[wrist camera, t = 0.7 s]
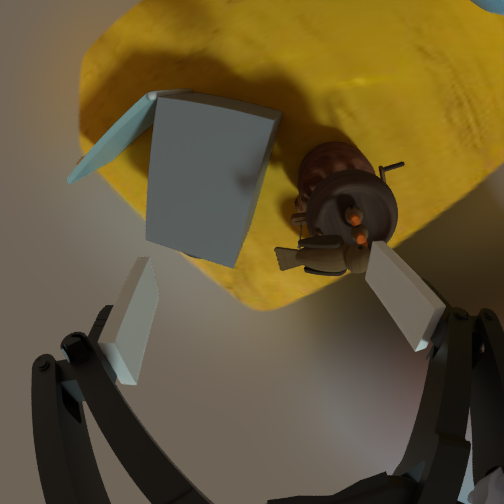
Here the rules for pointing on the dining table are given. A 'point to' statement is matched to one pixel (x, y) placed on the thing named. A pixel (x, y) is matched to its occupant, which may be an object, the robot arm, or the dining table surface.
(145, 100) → the side door
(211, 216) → the case
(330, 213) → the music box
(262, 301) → the dining table surface
